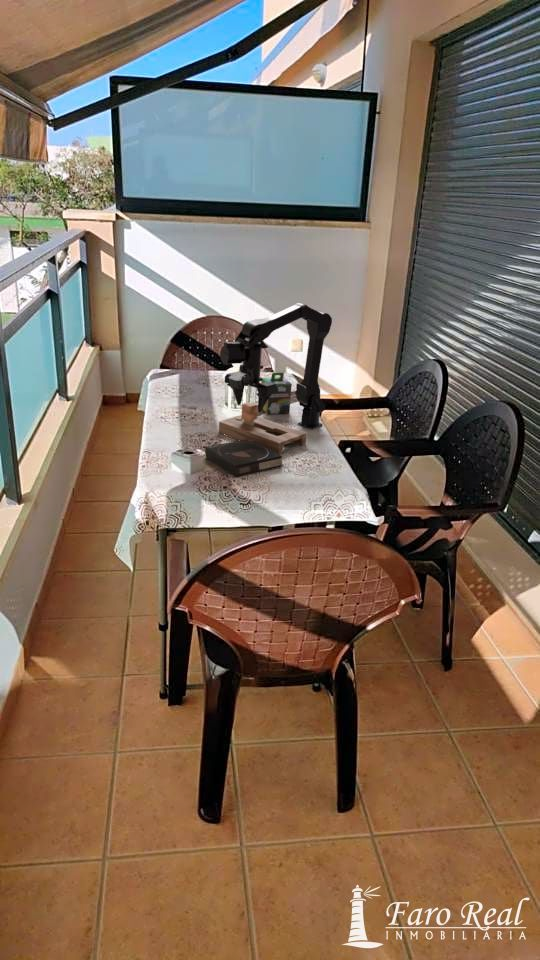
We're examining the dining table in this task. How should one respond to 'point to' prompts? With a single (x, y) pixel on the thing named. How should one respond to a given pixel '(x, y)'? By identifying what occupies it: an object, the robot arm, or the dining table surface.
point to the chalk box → (278, 395)
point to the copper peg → (249, 413)
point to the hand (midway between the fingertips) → (249, 408)
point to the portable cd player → (243, 457)
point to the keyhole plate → (262, 432)
